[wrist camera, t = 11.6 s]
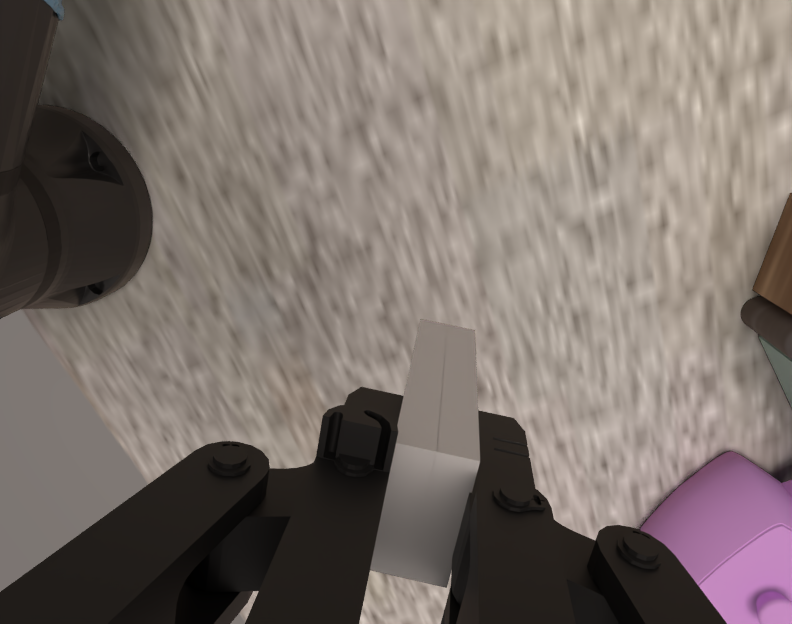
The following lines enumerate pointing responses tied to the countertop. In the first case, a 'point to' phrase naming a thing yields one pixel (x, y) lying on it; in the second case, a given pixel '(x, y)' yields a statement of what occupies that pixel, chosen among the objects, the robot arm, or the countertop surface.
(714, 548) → the teapot
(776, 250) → the doorframe
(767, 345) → the door
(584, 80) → the countertop surface
